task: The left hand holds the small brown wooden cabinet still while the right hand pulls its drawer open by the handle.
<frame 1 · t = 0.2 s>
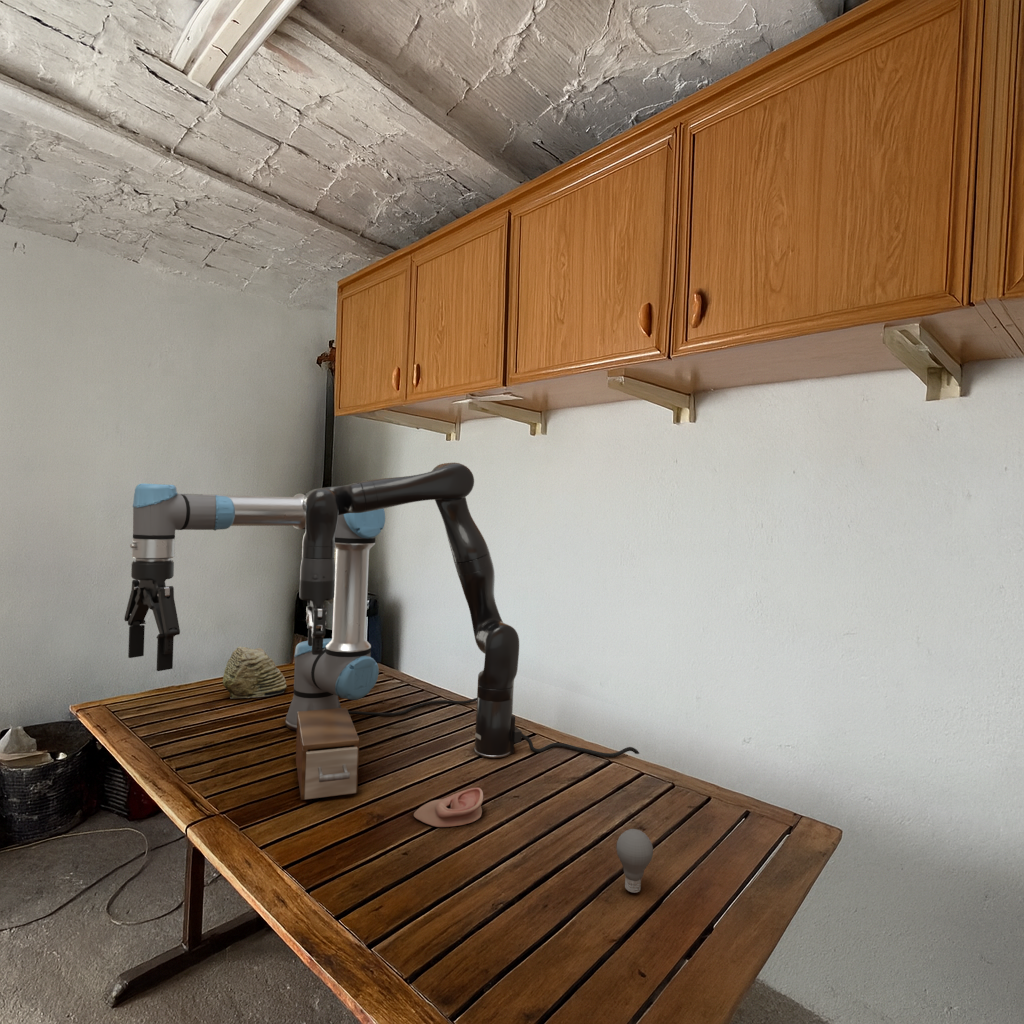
left hand: (149, 663, 129), 28 cm above the table, tool pointing down, fingers open, 13 cm apart
right hand: (314, 649, 142), 29 cm above the table, tool pointing down, fingers open, 8 cm apart
cabinet: (324, 775, 144), on the table
anatomical model: (448, 814, 129), on the table
drawer: (328, 759, 139), point 6 cm above the table, slide at 0.9 cm
fossil: (254, 694, 198), on the table
light bulb: (632, 891, 106), on the table
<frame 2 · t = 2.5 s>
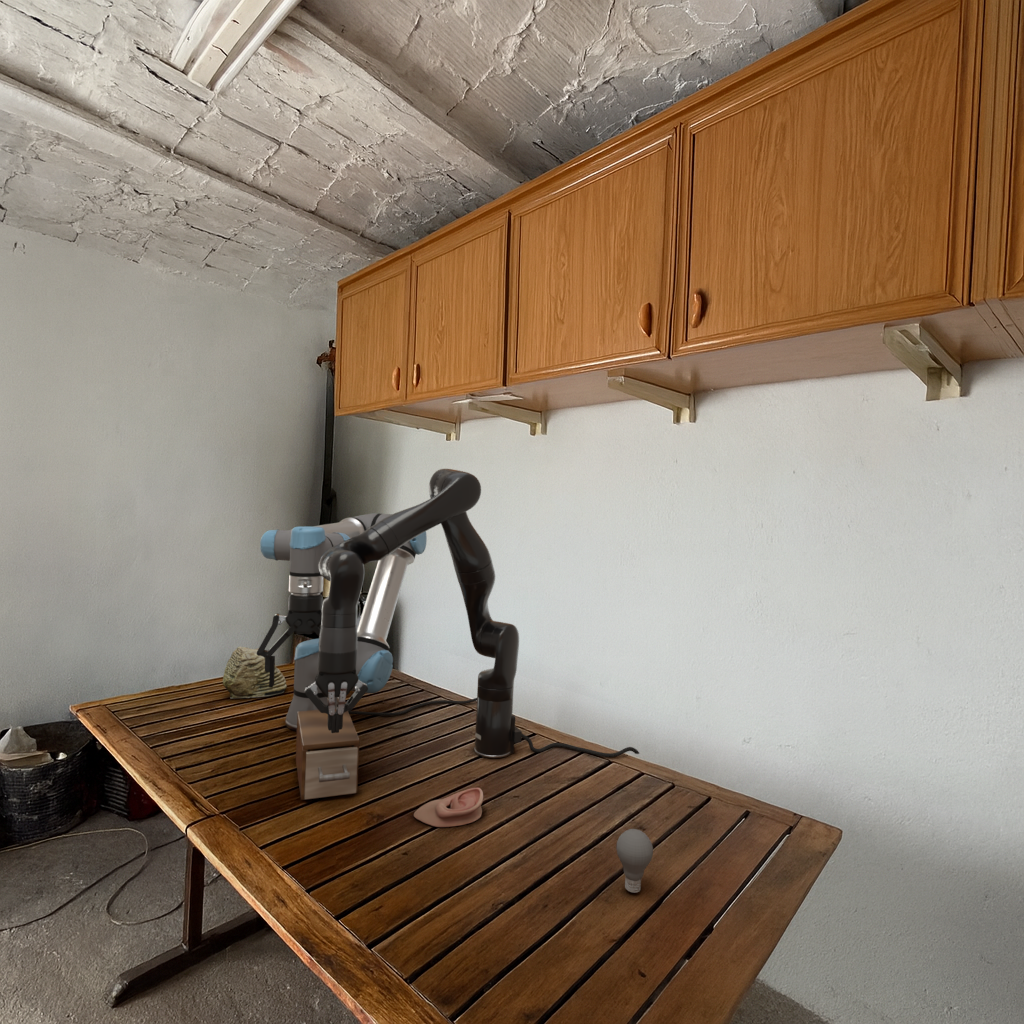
left hand: (302, 684, 147), 20 cm above the table, tool pointing down, fingers open, 13 cm apart
right hand: (334, 731, 129), 16 cm above the table, tool pointing down, fingers closed
nothing on the table moved.
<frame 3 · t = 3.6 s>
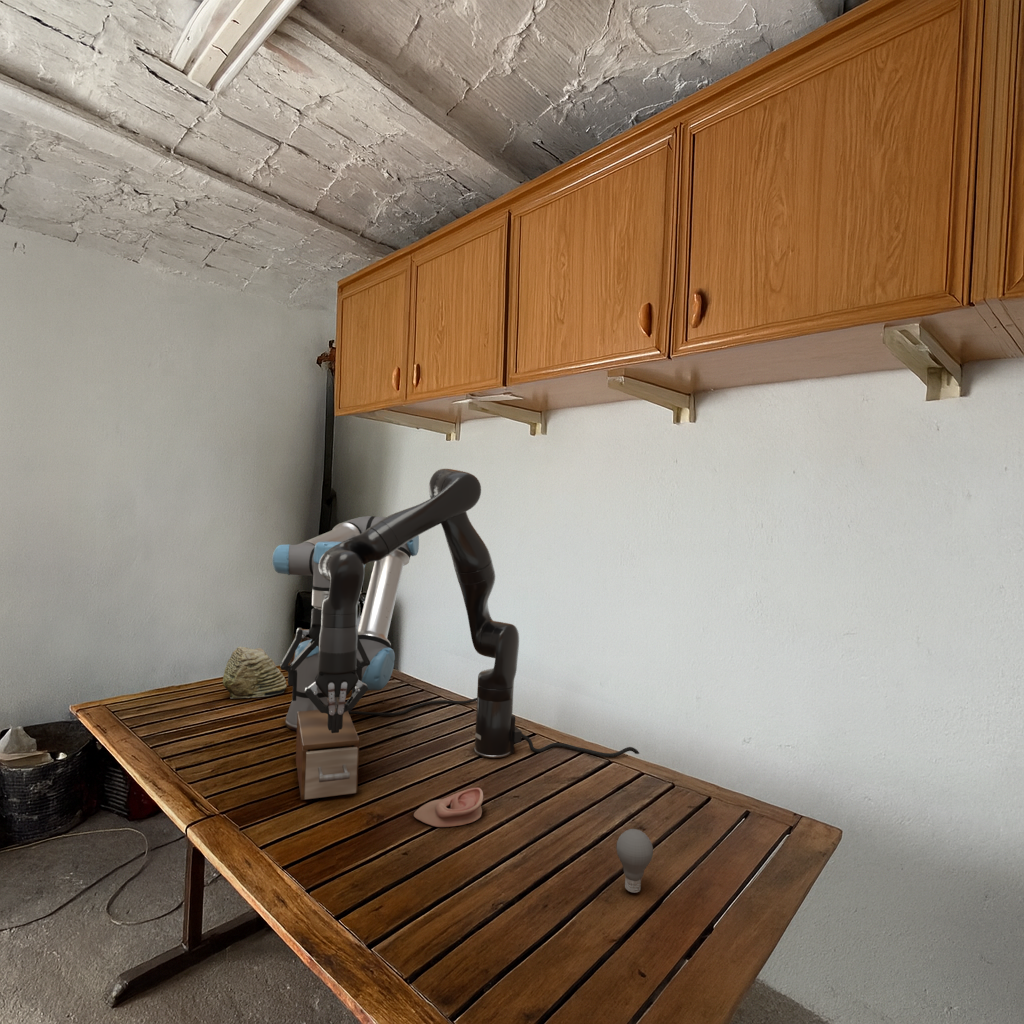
left hand: (324, 697, 149), 16 cm above the table, tool pointing down, fingers open, 13 cm apart
right hand: (334, 731, 129), 16 cm above the table, tool pointing down, fingers closed
nothing on the table moved.
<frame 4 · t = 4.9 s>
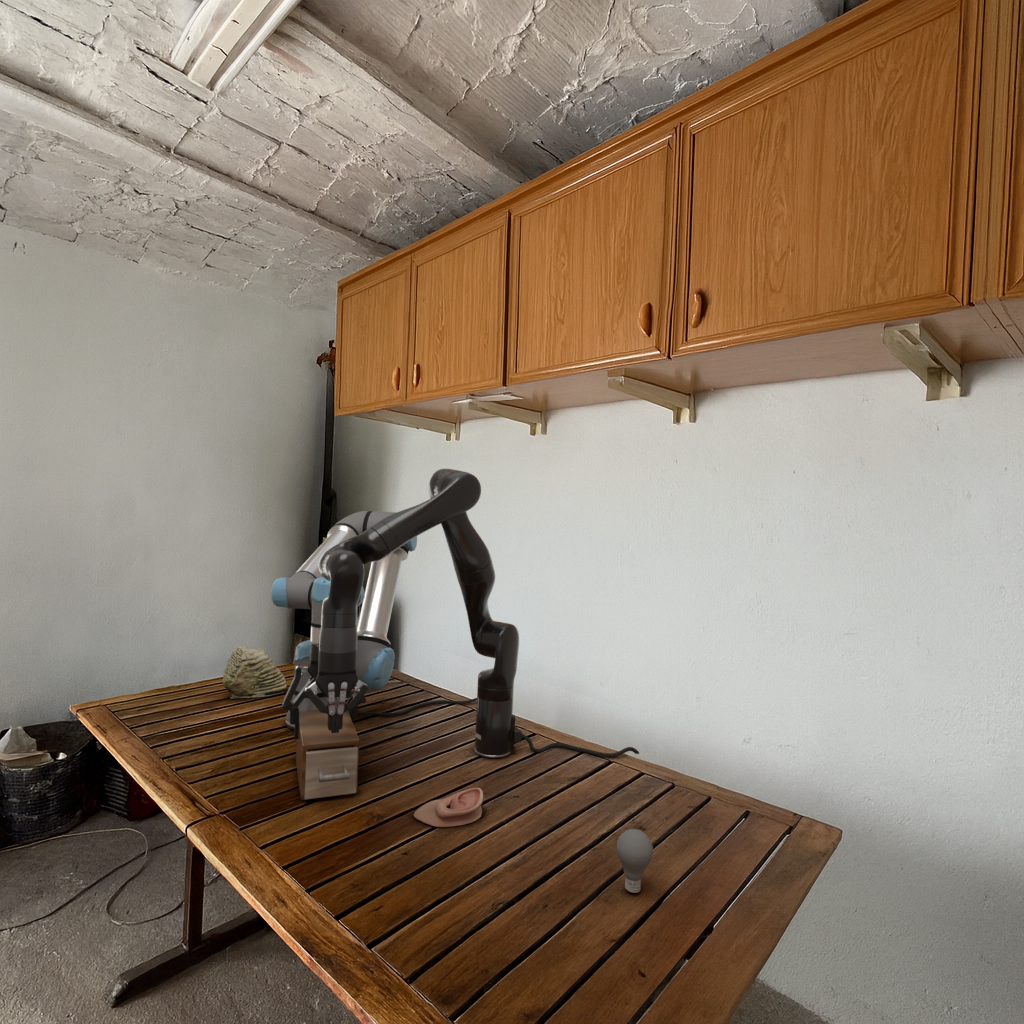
left hand: (323, 735, 150), 7 cm above the table, tool pointing down, fingers closed on cabinet, 11 cm apart
right hand: (334, 731, 129), 16 cm above the table, tool pointing down, fingers closed
cabinet: (324, 775, 144), on the table, touching left hand
everything else where it was.
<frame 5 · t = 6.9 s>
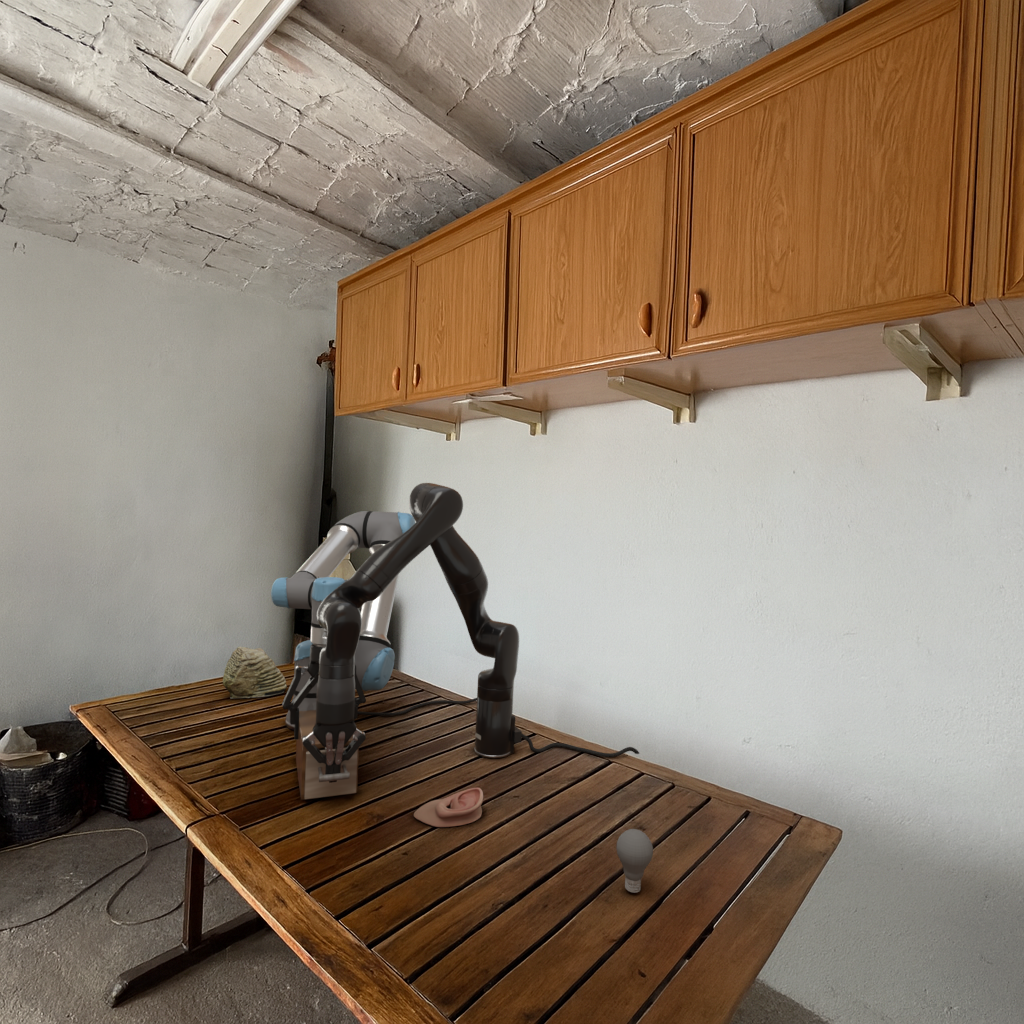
left hand: (323, 735, 150), 7 cm above the table, tool pointing down, fingers closed on cabinet, 11 cm apart
right hand: (332, 780, 129), 6 cm above the table, tool pointing down, fingers closed
cabinet: (324, 774, 144), on the table, touching left hand
drawer: (328, 759, 139), point 6 cm above the table, slide at 0.9 cm, touching right hand
everything else where it was.
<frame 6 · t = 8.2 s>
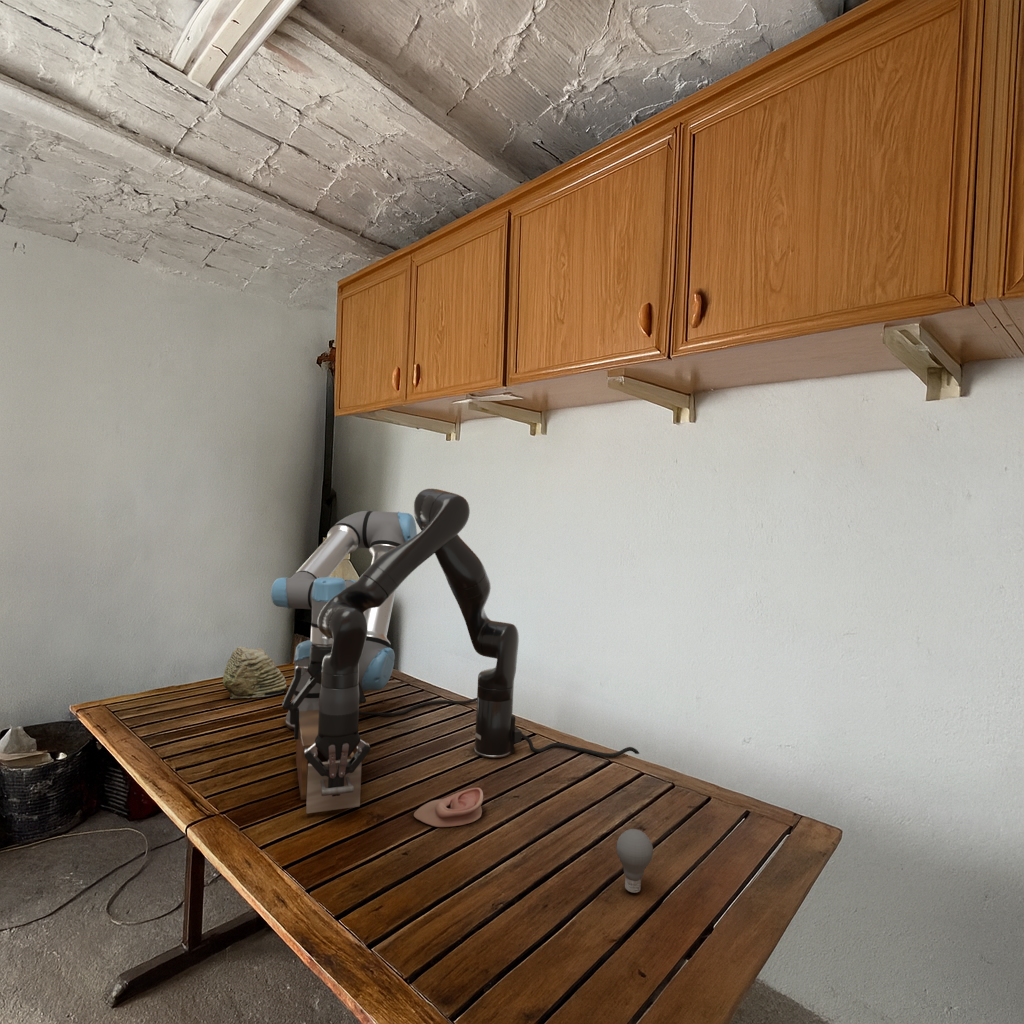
left hand: (323, 735, 150), 7 cm above the table, tool pointing down, fingers closed on cabinet, 11 cm apart
right hand: (335, 794, 123), 6 cm above the table, tool pointing down, fingers closed
cabinet: (324, 775, 144), on the table, touching left hand
drawer: (330, 771, 133), point 6 cm above the table, slide at 7.0 cm, touching right hand
everything else where it was.
when the left hand's fingers open (7 cm above the table, at t = 9.8 s): cabinet stays where it is, on the table.
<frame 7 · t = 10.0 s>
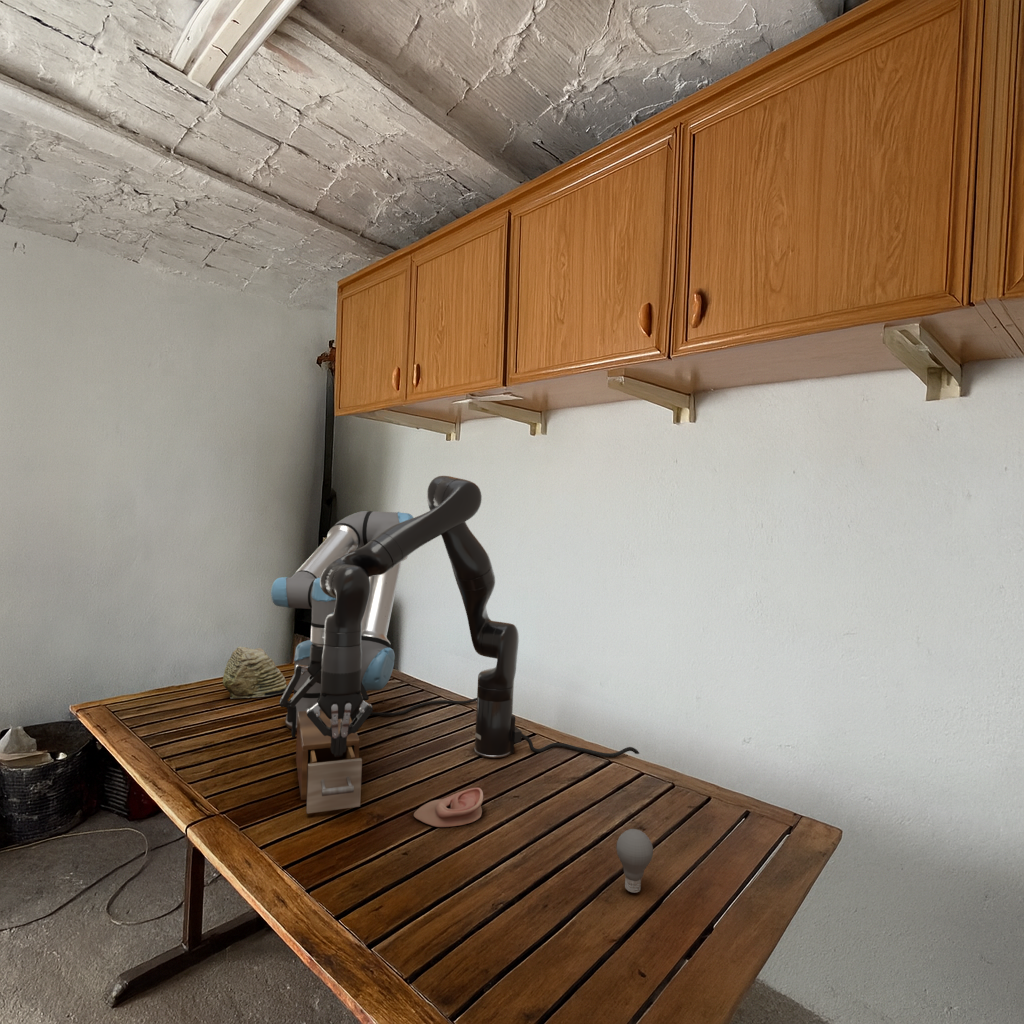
left hand: (323, 732, 150), 7 cm above the table, tool pointing down, fingers open, 13 cm apart
right hand: (338, 754, 123), 13 cm above the table, tool pointing down, fingers closed
cabinet: (324, 775, 144), on the table
drawer: (331, 771, 133), point 6 cm above the table, slide at 7.0 cm
everything else where it was.
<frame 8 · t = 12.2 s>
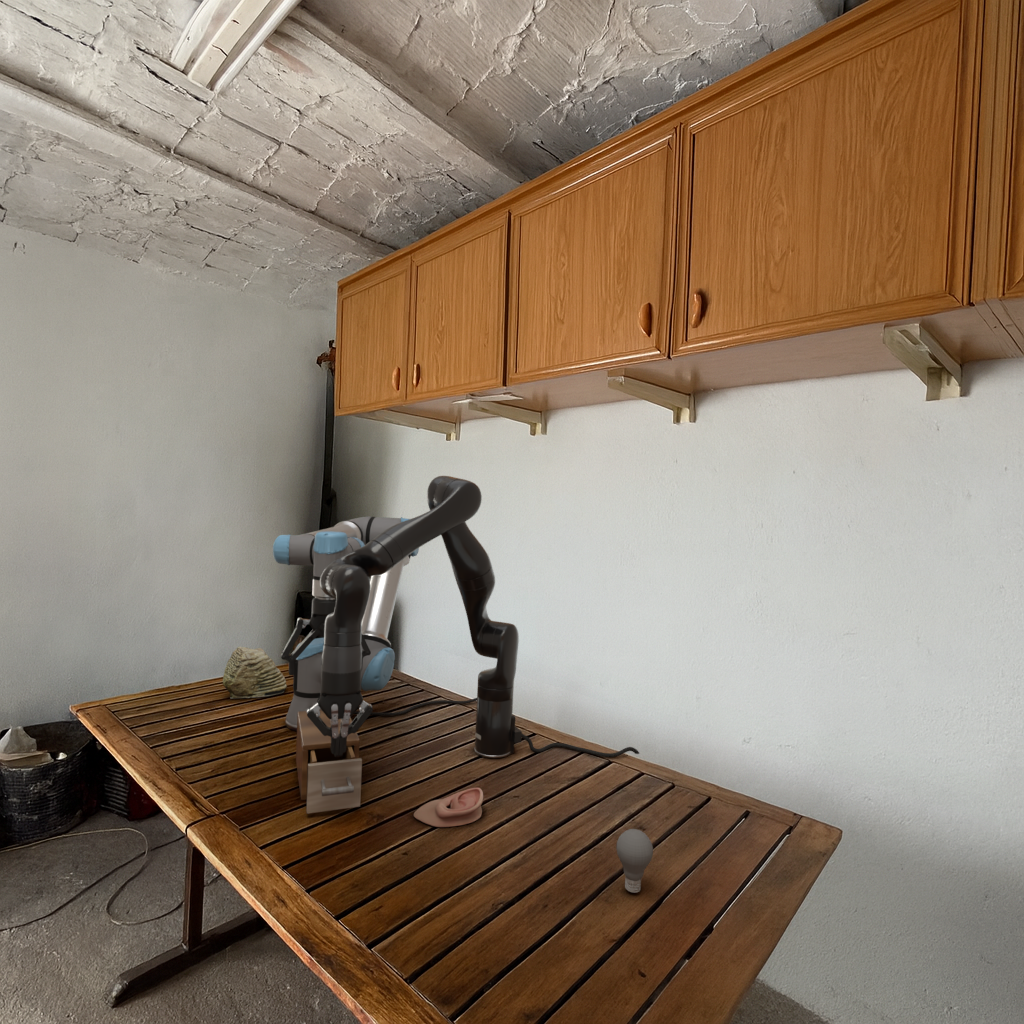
left hand: (325, 686, 150), 18 cm above the table, tool pointing down, fingers open, 13 cm apart
right hand: (338, 754, 123), 13 cm above the table, tool pointing down, fingers closed
nothing on the table moved.
at the end: drawer slide at 7.0 cm; cabinet tilted 0°; cabinet never tilted more than 1° during the clip; cabinet moved 0.1 cm from its start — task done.
